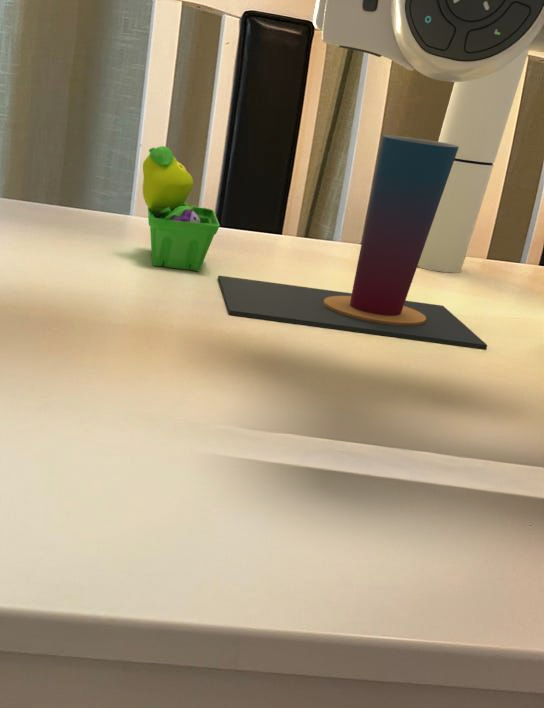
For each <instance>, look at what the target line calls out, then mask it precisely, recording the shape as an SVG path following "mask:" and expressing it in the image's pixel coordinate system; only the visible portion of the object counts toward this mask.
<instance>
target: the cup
mask: <svg viewBox="0 0 544 708" xmlns="http://www.w3.org/2000/svg"><path fill="white" fill-rule="evenodd" d="M458 148H459V147H458V146H456V145H452V144H447V143H442V142H438V141H435V140H429V139H423V138H416V137H409V136H401V135H391V134H384V135H382V137H381V142H380V147H379V152H378V157H377V161H376V167H375V173H374V178H373V183H372V187H371V188H372V189H371V193H370V199H369V204H368V208H367V214H366V219H365V224H364V228H363V233H362V238H361V239H362V240H361V244H360V249H359V255H358V259H357V264H356V270H355V275H354V280H353V286H352V289H351V293H352V295H351V300H350V306H352V307H353V308H355V309H358V310H361V311H364V312H368V313H373V314H379V315H389V316H395V315H400V314H401V312H402V309H403V306H404V303H405V301H407V298H408V295H409V291H410V288H411V286H412V283H413V280H414V277H415V274H416V271H417V269H418V267H417V266H418V263H419V260H420V257H421V254H422V251H423V248H424V246H425V243H426V240H427V237H428V234H429V231H430V228H431V225H432V223H433V220H434V217H435V214H436V211H437V208H438V205H439V203H440V200H441V197H442V194H443V191H444V188H445V185H446V182H447V180H448V177H449V174H450V171H451V168H452V165H453V162H454V159H455V157H456V154H457V151H458Z"/></svg>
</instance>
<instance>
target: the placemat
mask: <svg viewBox="0 0 544 708" xmlns="http://www.w3.org/2000/svg"><path fill="white" fill-rule="evenodd" d="M217 281H218V284H219V288H220V290H221V295H222V297H223V301H224V303H225V306H226V310H227V313H228V315H230V316H238V317H243V318H245V317H246V318H250V319H251V318H252V319H258V320H266V321H274V322H282V323H290V324H295V325H296V324H297V325H302V326H303V325H304V326H310V327H318V328H325V329H326V328H327V329H334V330H340V331H349V332H355V333H364V334H371V335H377V336H378V335H379V336H384V337H393V338H400V339H408V340H414V341H415V340H416V341H421V342H430V343H436V344H444V345H453V346H459V347H467V348H473V349H482V350H487V348H488V344H487V343H486V342H485V341H484V340H482V339H481V338H480V337H479V336H478V335H477V334H476V333H475V332H474V331H473V330H471V329H470V328H469V327H468V326H467V325H465V323H463V322H462V321H461V320H460V319H459V318H458V317H457V316H455V314H453V313H452V312H451V311H450V310H449V309H447V308H446V307H445V306H444V305H440V304H433V303H425V302H419V301H411V300H405V303H404V306H403V309H402V312H401V314H400V315H395V316H389V315H379V314H373V313H368V312H364V311H361V310H358V309H355V308H353V307H352V306H350V300H351V295H352V292H345V291H337V290H329V289H324V288H315V287H308V286H301V285H294V284H293V285H292V284H285V283H280V282H279V283H278V282H271V281H263V280H256V279H249V278H242V277H233V276H227V275H218V276H217Z"/></svg>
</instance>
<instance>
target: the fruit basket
mask: <svg viewBox="0 0 544 708" xmlns="http://www.w3.org/2000/svg"><path fill="white" fill-rule="evenodd" d="M148 152H149V154H148V155H147V157H145V159H144V161H143V162H142V174H143V175H142V176H143V179H142V180H143V181H142V197H143V200H144V203H145V205H146V206H147V218H148V226H149V227H150V228H149V229H150V230H149V231H150V249H151V263H152V265H153V266H155V267H165V268H169V269H177V270H184V271H185V270H186V271H187V270H189V271H192V272H193V271H194V272H200V271H201V268H202V267H203V263H204V260H205V258H206V256H207V254H208V251H209V248H210V247H211V245H212V241H213V239H214V236H216V234H217V232H218V230H219V228H220V227H221V224H220V222H219V220H218V217H217V215H216V213H215V210H213V209H210V208H206V207H199V206H195V205H194V204H192V205H189V204H188V203H187V202H186V200H187V199H188V197H189V194H190V192H191V190H192V188H193V186H194V179H193V176H192V174H190V172H188V171H187V168H186V166H184V165H183V164H182V163H181V162H180V161H178V160H177V158H176V157H175V155H174V153H173V151H172V150H171V149H170V148H168V146H164V145H160V146H157V147H151V148H149V149H148Z"/></svg>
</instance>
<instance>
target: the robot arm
mask: <svg viewBox="0 0 544 708" xmlns="http://www.w3.org/2000/svg"><path fill="white" fill-rule="evenodd" d="M312 24H313V26H314V28H315V29H316V30H318V31H319V32H321V41H322V42H323V43H324V44H326V45H329V46H337V48H339V49H345V50H350V51H351V50H352V51H357V52H362V53H366V54H369V55H372V56H375V57H378V58H381V57H383V58H387V59H388V60H391V61H393V62H394V63H396V64H398V65H399V66H402V67H403V68H404V69H406V70H408V71H410V72H413V71H415V70H416V71H417V72H418V73H420V74H422V75H423V76H425V77H427V78H429V79H433V80H436V81H441V82H448V83H455V82H466V81H472V80H476V79H479V78H483V77H485V76H488V75H490V74H492V73H494V72H496V71H498V70H500V69H502V68H503V67H505V66H506V65H508V64H509V63H510V62H512V61H513V60H514V59H515V58H517V57H518V56H519V55H520V54H521V53H522V52H523V51H524V50H529V52H536V53H537V52H538V53H544V0H316V1H315V7H314V11H313V16H312Z"/></svg>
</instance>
